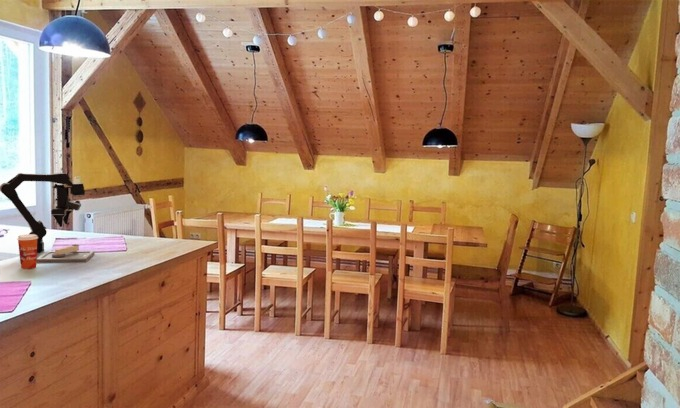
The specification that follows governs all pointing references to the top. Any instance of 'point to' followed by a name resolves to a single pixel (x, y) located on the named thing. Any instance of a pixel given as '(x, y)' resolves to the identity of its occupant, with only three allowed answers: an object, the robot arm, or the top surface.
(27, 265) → the coffee cup
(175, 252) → the top surface
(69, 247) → the long cream stick
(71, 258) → the board
